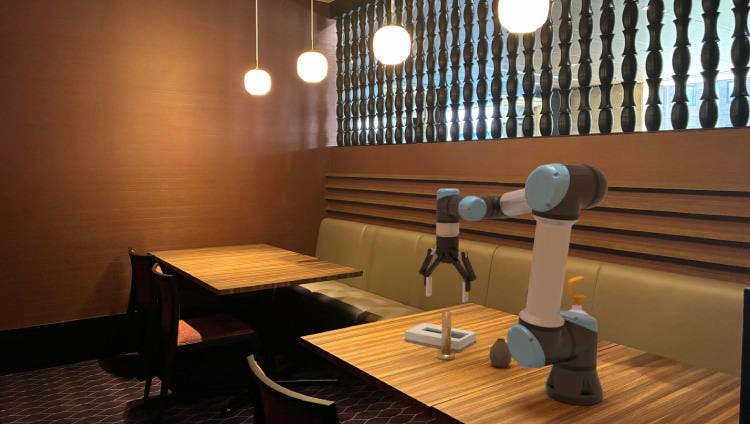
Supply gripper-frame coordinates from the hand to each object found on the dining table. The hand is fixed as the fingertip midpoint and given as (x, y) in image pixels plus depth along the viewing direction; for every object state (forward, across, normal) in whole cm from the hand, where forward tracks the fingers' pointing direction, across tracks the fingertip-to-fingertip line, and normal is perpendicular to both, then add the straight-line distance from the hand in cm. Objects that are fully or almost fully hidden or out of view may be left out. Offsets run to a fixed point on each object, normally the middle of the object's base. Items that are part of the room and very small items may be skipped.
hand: (446, 298), depth 188 cm
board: (+20, +10, -14) cm, 26 cm away
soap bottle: (+20, -31, -41) cm, 55 cm away
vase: (+20, -18, -3) cm, 27 cm away
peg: (+20, 0, 0) cm, 20 cm away
